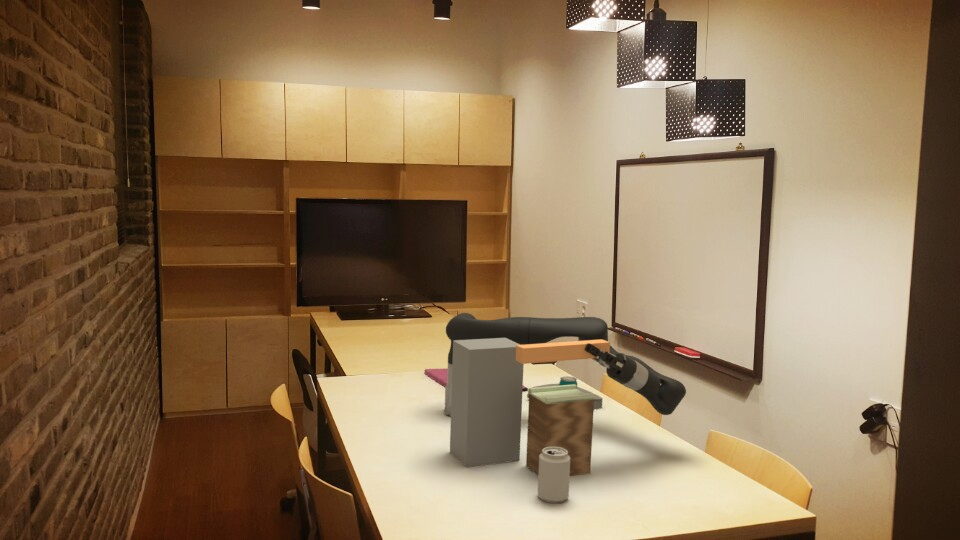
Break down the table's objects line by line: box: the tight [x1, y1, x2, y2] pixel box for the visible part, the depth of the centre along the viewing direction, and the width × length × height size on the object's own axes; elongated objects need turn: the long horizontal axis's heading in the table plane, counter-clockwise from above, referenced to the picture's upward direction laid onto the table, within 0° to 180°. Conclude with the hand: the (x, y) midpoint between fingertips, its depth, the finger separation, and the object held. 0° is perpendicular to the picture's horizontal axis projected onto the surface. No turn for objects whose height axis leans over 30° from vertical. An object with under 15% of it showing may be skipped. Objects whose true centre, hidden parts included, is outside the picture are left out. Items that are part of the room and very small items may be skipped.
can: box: [537, 447, 570, 504], centre depth 178 cm, size 8×8×12 cm
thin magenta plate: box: [424, 368, 529, 393], centre depth 281 cm, size 40×4×27 cm
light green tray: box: [526, 383, 603, 410], centre depth 258 cm, size 19×22×5 cm
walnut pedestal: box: [525, 394, 595, 477], centre depth 196 cm, size 14×10×20 cm
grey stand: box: [449, 338, 524, 468], centre depth 203 cm, size 16×12×32 cm
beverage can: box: [558, 376, 578, 386], centre depth 235 cm, size 6×6×15 cm
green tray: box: [528, 384, 595, 404], centre depth 195 cm, size 14×10×2 cm
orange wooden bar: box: [516, 339, 611, 365], centre depth 193 cm, size 26×4×4 cm, turn 113°
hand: (582, 344), depth 195 cm, fingers closed on orange wooden bar, 4 cm apart
